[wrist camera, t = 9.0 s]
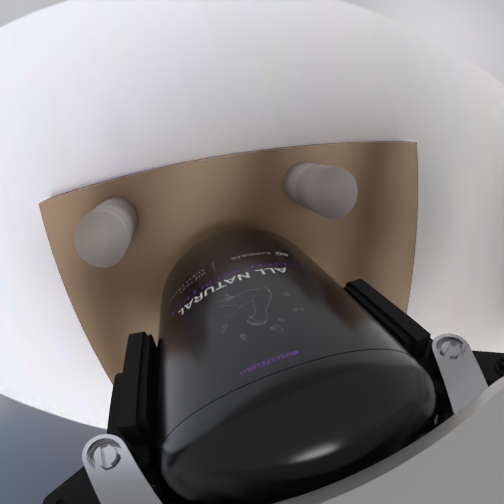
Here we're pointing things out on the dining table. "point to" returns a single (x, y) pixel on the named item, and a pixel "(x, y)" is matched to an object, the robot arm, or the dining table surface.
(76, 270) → the peg board
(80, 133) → the dining table surface
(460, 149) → the dining table surface
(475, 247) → the dining table surface
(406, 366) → the supplement bottle
